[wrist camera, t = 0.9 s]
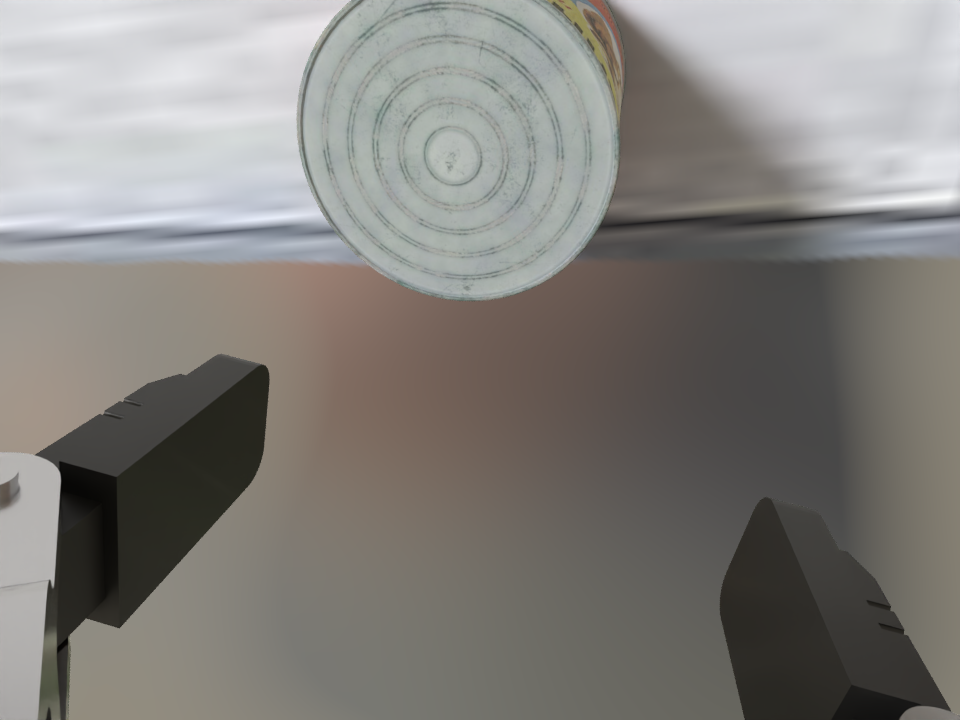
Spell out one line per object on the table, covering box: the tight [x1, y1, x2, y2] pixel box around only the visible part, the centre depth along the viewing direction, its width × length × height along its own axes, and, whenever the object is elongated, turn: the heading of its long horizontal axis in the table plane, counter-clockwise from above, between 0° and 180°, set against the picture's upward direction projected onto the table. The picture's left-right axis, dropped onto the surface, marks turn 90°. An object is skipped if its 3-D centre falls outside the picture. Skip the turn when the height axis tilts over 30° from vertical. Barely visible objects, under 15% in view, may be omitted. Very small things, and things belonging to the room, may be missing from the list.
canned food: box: [297, 0, 626, 301], centre depth 28 cm, size 11×11×12 cm
